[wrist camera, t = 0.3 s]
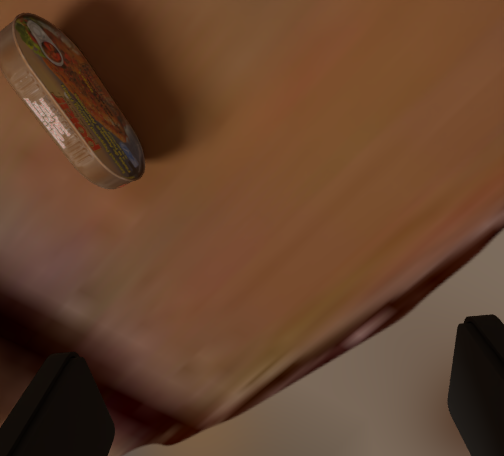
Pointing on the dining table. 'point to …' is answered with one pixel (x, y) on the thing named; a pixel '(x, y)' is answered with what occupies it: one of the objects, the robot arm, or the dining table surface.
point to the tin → (70, 102)
